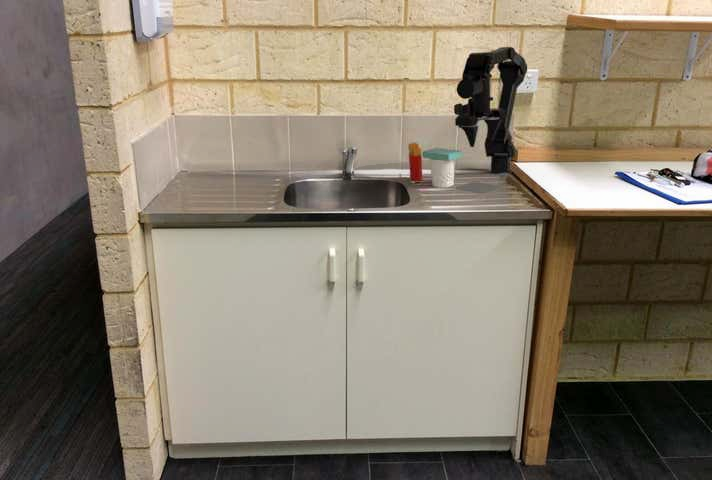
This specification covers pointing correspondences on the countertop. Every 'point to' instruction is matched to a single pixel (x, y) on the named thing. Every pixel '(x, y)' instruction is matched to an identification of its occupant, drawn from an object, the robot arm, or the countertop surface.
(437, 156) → the lid
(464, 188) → the mat
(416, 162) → the french fries
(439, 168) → the white cup
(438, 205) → the countertop surface
